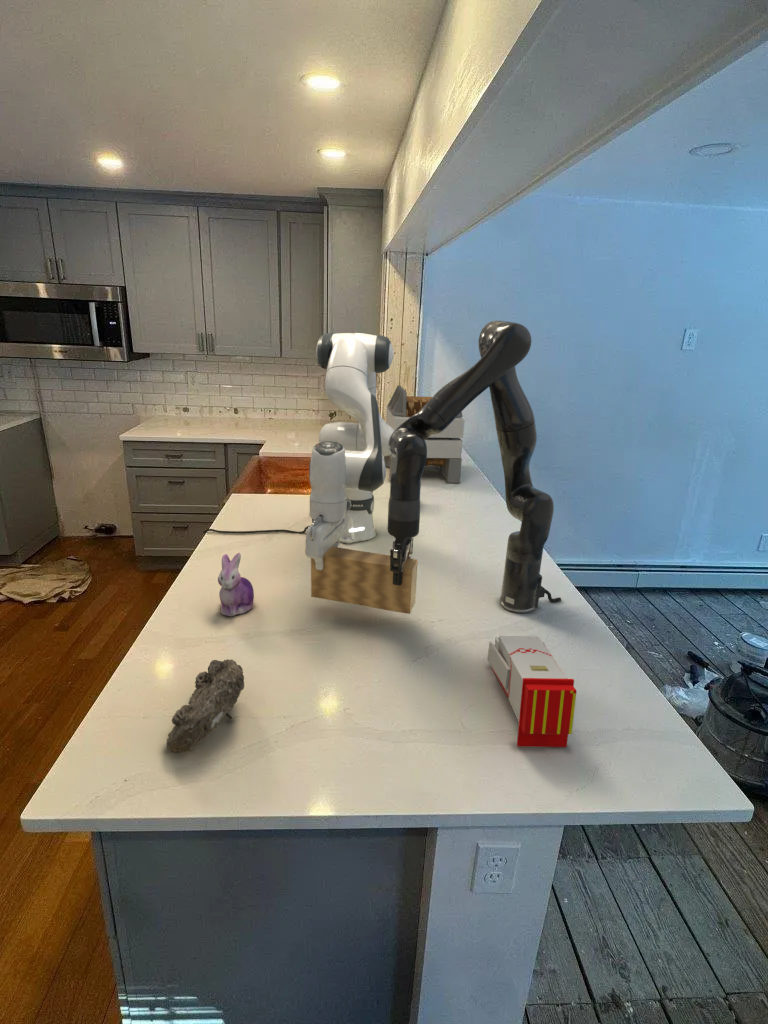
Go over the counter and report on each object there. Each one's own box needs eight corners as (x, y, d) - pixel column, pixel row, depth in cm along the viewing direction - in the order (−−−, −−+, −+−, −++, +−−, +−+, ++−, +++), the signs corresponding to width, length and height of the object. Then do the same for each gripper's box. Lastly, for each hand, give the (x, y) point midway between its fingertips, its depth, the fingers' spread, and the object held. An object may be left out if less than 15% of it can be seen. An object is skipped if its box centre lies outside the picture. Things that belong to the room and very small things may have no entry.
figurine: (223, 621, 140) (219, 566, 135) (214, 602, 149) (210, 550, 144) (260, 613, 144) (258, 559, 139) (250, 595, 153) (247, 544, 148)
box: (311, 596, 144) (310, 553, 140) (319, 586, 150) (319, 544, 145) (409, 614, 138) (412, 569, 134) (415, 602, 143) (417, 559, 139)
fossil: (192, 660, 117) (244, 628, 112) (224, 691, 120) (276, 661, 115) (142, 746, 98) (202, 712, 93) (182, 779, 101) (242, 748, 96)
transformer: (382, 463, 289) (386, 382, 275) (445, 464, 293) (451, 384, 279) (390, 482, 257) (394, 392, 243) (460, 483, 261) (468, 394, 247)
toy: (536, 619, 129) (586, 686, 99) (531, 673, 131) (578, 754, 102) (483, 618, 128) (517, 685, 99) (479, 672, 131) (511, 753, 102)
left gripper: (324, 525, 128) (323, 580, 132) (353, 499, 147) (352, 548, 151) (298, 521, 129) (298, 576, 134) (330, 496, 148) (329, 545, 153)
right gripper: (412, 527, 126) (408, 594, 131) (426, 507, 139) (421, 569, 144) (380, 522, 127) (377, 589, 133) (396, 503, 141) (393, 564, 146)
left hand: (327, 561), depth 143 cm, fingers open, 8 cm apart
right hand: (400, 578), depth 139 cm, fingers closed on box, 6 cm apart
